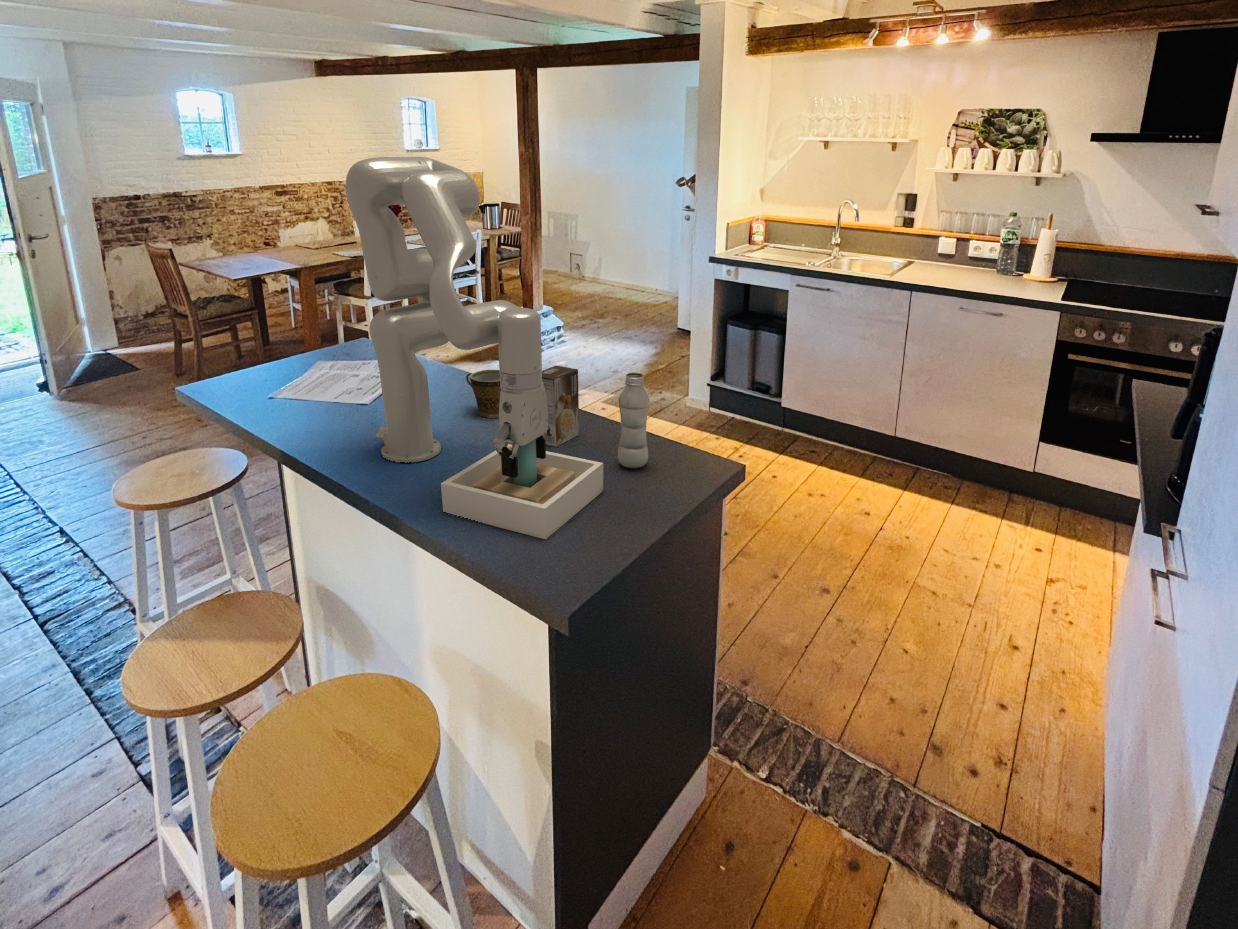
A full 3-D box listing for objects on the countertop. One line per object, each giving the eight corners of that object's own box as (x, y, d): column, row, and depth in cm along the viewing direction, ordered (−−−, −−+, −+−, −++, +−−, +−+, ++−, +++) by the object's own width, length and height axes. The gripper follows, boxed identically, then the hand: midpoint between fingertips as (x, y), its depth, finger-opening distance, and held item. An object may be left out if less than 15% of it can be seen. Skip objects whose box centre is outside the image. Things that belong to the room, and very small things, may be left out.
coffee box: (557, 429, 181) (556, 364, 174) (579, 435, 178) (579, 368, 171) (533, 441, 174) (531, 373, 167) (556, 447, 171) (555, 378, 164)
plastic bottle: (626, 474, 158) (628, 381, 150) (612, 462, 164) (613, 372, 156) (653, 468, 161) (657, 377, 153) (638, 457, 166) (640, 368, 158)
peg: (509, 499, 145) (507, 441, 140) (522, 490, 148) (520, 433, 143) (529, 504, 143) (527, 445, 138) (541, 495, 147) (540, 437, 142)
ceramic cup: (520, 412, 192) (519, 373, 188) (494, 423, 184) (492, 384, 180) (481, 402, 198) (479, 365, 194) (454, 413, 190) (451, 374, 186)
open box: (443, 512, 141) (440, 483, 139) (509, 469, 159) (507, 443, 157) (545, 539, 132) (545, 508, 130) (603, 490, 151) (603, 463, 148)
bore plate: (473, 504, 142) (472, 485, 141) (514, 477, 154) (513, 458, 152) (537, 520, 137) (537, 500, 135) (575, 490, 149) (575, 472, 147)
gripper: (512, 395, 127) (516, 488, 134) (563, 369, 142) (564, 454, 149) (475, 389, 130) (480, 479, 137) (528, 364, 145) (531, 447, 152)
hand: (524, 466), depth 143 cm, fingers open, 9 cm apart
